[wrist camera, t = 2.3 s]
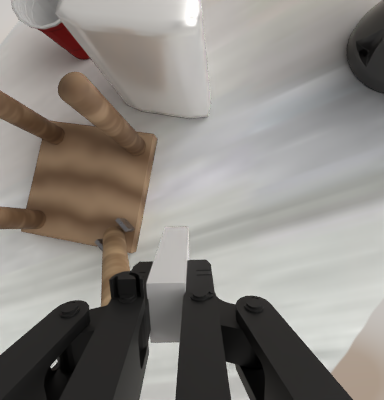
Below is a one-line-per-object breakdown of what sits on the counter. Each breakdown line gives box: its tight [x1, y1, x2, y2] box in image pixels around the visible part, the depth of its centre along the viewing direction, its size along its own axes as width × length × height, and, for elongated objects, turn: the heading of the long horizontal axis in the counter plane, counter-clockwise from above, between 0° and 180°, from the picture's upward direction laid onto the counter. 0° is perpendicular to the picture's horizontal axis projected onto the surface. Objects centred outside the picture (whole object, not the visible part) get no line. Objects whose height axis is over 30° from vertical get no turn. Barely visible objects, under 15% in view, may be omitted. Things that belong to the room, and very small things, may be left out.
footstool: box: [0, 72, 157, 253], centre depth 35 cm, size 20×20×21 cm
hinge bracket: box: [95, 218, 135, 251], centre depth 40 cm, size 2×5×3 cm, turn 135°
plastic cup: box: [11, 0, 90, 60], centre depth 43 cm, size 11×11×12 cm
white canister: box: [55, 0, 211, 119], centre depth 35 cm, size 15×14×22 cm
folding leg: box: [101, 227, 130, 307], centre depth 32 cm, size 3×3×16 cm
